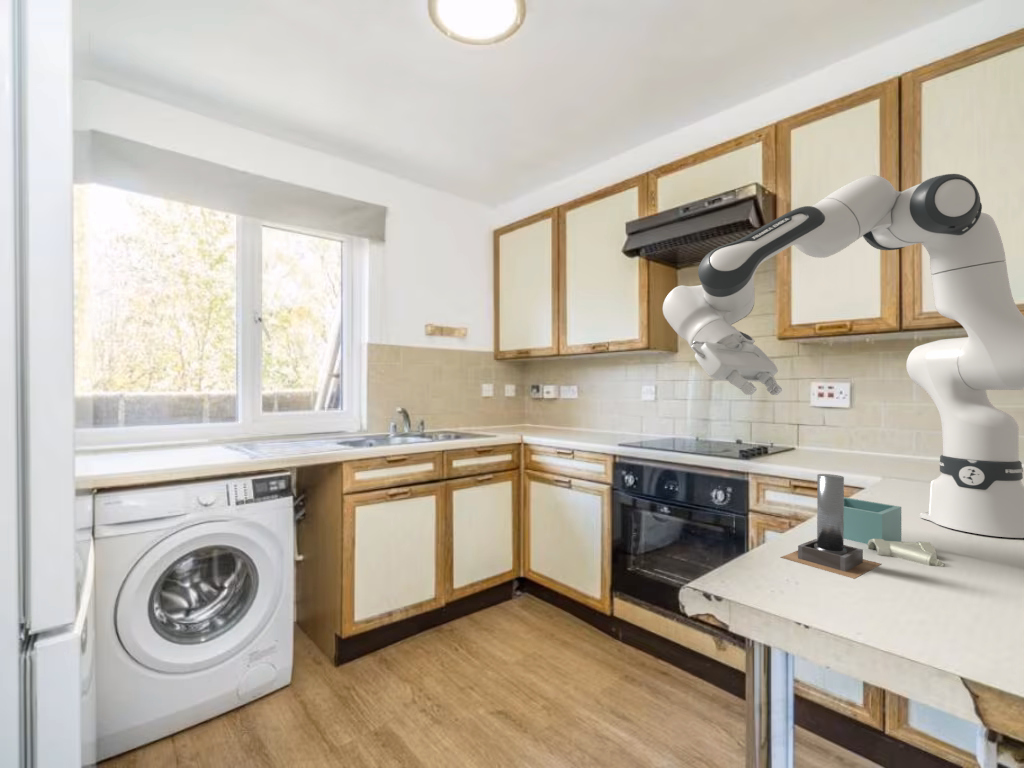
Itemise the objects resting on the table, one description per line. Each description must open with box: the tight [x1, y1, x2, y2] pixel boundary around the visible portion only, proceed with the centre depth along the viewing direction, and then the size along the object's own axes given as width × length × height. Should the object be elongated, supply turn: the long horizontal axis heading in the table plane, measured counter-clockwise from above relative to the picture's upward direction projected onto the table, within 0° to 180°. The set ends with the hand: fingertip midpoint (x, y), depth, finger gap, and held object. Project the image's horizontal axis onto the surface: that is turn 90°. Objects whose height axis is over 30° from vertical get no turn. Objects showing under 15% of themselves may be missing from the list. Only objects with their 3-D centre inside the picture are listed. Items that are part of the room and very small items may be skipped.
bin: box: [844, 496, 902, 545], centre depth 86 cm, size 9×9×7 cm
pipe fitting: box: [867, 539, 945, 568], centre depth 75 cm, size 8×4×7 cm
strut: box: [814, 473, 847, 556], centre depth 73 cm, size 4×4×13 cm
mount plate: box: [780, 538, 882, 579], centre depth 73 cm, size 10×10×4 cm
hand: (765, 392), depth 90 cm, fingers open, 8 cm apart
